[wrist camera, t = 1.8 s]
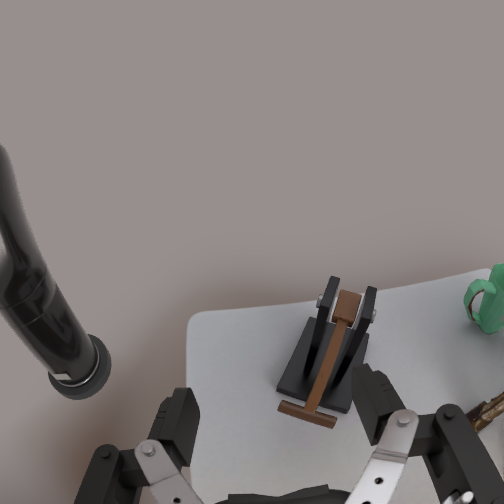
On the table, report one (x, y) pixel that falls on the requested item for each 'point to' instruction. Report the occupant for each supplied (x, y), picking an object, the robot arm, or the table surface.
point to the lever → (326, 363)
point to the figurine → (486, 412)
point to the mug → (488, 301)
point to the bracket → (315, 346)
